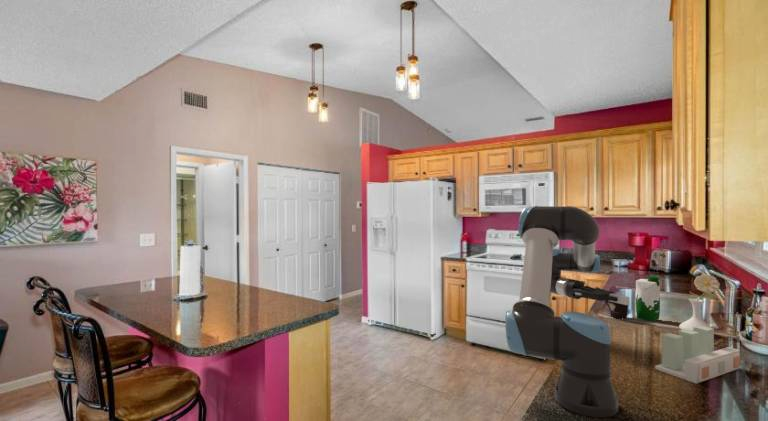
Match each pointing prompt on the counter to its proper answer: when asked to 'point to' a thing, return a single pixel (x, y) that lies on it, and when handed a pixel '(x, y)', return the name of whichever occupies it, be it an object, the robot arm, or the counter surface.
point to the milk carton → (648, 298)
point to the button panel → (696, 364)
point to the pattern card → (719, 366)
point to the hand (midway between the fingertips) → (628, 301)
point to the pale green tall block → (672, 351)
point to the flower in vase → (708, 286)
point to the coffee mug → (618, 310)
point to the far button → (705, 339)
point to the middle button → (689, 343)
